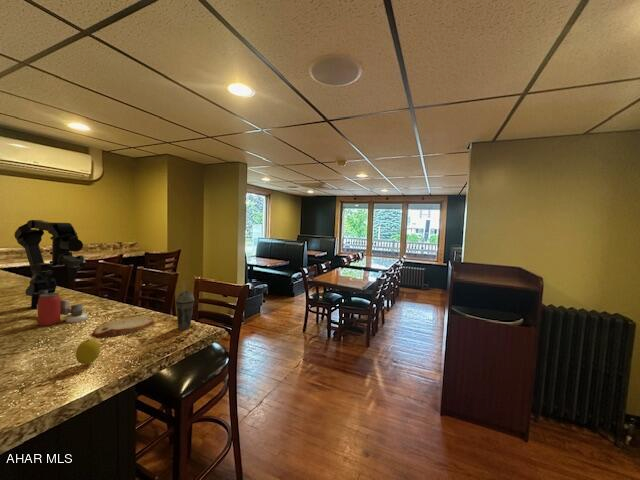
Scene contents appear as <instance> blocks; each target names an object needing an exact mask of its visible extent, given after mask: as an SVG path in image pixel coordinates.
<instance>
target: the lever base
mask: <svg viewBox="0 0 640 480" xmlns="http://www.w3.org/2000/svg"><path fill="white" fill-rule="evenodd" d="M87 320H88V313H87V312H82V315H79V316H71V313H69V314H67V315H65V323H68V324H74V323H76V324H77V323H81V322H84V321H87Z"/></svg>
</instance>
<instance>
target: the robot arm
mask: <svg viewBox="0 0 640 480" xmlns="http://www.w3.org/2000/svg"><path fill="white" fill-rule="evenodd" d="M45 232H47V233H48V234H50V235H51V236H50V238H49V239H50V240H52V249H51V251H50V252H49V255H51V260H49V263H48V262H45V261H44V258H43V254H42V252H41V251H42V250H41V248H40V243H41V242H42V239H43V238H42V237H43V236H44V235H45ZM13 236H14V238H15V240H16V241H17V242H16V243H18V245H20V246H21V247H23V248H24V250H25V254H26V257H27V260H28V264H29V268H30V271H31V275H32V276H31V279H30V280H29V285H28V287H27V288H26V289H25V295H26V296H29V297H31V302H30V303H31V304H30V306H27V309H37V304H38V300H39V291H40V290H48V293H56V288H57V285H58V284H57V280H56V278H55V275H54V274H53V272H54V270H52V269H55V268H63V267H64V268H65V267H67V272H68V273H67V274H68V280H69V282H70V283H72V282H73V281H74V279H75V278H76V275H77V273H78V272H79V271H80V270H81V269H83V268H84V267H86V266H87V262H86V260H85V257H84V256H83V255H77V256H73V252H75V253H77V252H80V251H81V250H82V249H83V247H84V244H83V241H82V240H80V239H79V236H78V233H77V232H76V230H75V227H74V226H73V225H72V224H71V222H50V221H45V220H41V219H38V220H37V219H31V220H28V221H27V222H26V223H25V224H23V225H20V226H18V228H16V230H15V231H14V235H13Z"/></svg>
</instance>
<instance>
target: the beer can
mask: <svg viewBox="0 0 640 480" xmlns="http://www.w3.org/2000/svg"><path fill="white" fill-rule="evenodd" d="M61 299H62V298H61V296H60V293H58V292H55V293H47V294H42V295H40V298H39V300H38V309H37V325H38V326H40V327H42V326H43V327H45V326H46V327H47V326H52V325H57V324H58V323H60V322H61V314H60V311H61Z"/></svg>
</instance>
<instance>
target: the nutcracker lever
mask: <svg viewBox="0 0 640 480" xmlns="http://www.w3.org/2000/svg"><path fill="white" fill-rule="evenodd" d="M47 293H48V290H40V291H39V298H40V295H42V294H47ZM69 305H70V304H69V300H68V299H62V298H61V311H60V316H61V315H64V316H67V315H70V314H71V316H79V315H82V313H83V307H84V306H83V304H81V303H80V304H73V305H71V306H69ZM36 309H37V310H38V304H37V308H36Z"/></svg>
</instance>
